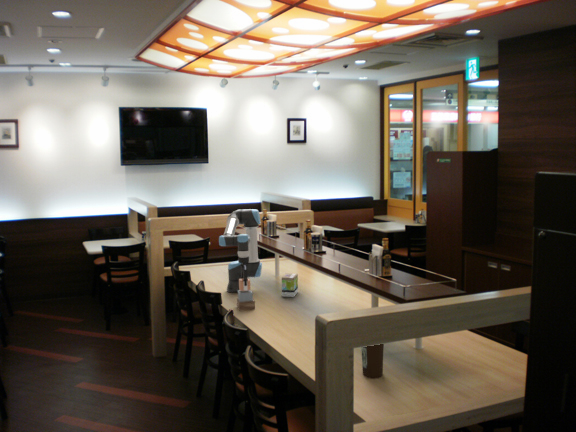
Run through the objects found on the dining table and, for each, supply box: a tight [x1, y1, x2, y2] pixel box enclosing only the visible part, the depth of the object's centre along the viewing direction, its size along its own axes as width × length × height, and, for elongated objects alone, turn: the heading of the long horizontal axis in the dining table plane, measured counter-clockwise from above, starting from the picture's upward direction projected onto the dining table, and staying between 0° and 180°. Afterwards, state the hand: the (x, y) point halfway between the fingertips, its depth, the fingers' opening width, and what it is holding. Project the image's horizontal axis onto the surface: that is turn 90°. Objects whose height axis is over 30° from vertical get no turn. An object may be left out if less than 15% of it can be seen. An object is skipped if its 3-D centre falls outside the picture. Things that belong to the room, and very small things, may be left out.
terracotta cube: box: [239, 277, 252, 291], centre depth 361 cm, size 7×7×7 cm
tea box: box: [281, 273, 299, 298], centre depth 394 cm, size 15×10×15 cm, turn 168°
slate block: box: [237, 290, 254, 302], centre depth 361 cm, size 9×9×6 cm
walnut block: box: [236, 297, 256, 312], centre depth 362 cm, size 11×11×6 cm
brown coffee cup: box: [360, 344, 385, 379], centre depth 244 cm, size 11×11×25 cm
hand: (244, 288), depth 361 cm, fingers open, 7 cm apart
